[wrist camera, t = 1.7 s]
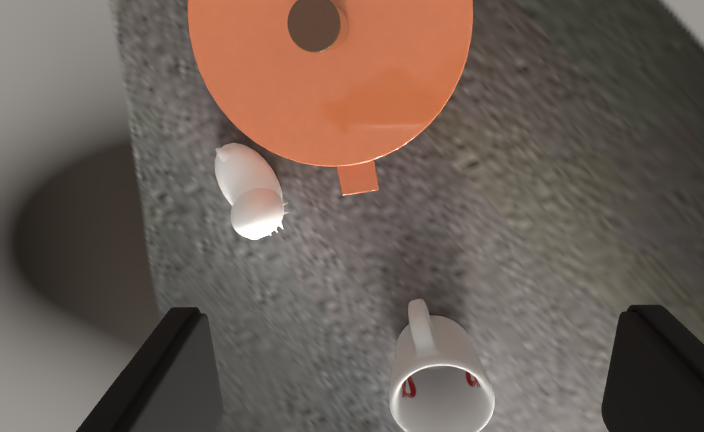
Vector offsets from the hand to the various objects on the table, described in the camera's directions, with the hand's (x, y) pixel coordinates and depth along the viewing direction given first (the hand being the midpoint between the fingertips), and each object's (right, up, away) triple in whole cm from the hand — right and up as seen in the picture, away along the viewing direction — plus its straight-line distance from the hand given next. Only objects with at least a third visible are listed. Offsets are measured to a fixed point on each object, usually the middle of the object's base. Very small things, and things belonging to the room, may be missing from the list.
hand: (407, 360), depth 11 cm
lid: (-3, +14, +15) cm, 21 cm away
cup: (+6, -7, +32) cm, 33 cm away
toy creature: (-9, +6, +28) cm, 30 cm away
